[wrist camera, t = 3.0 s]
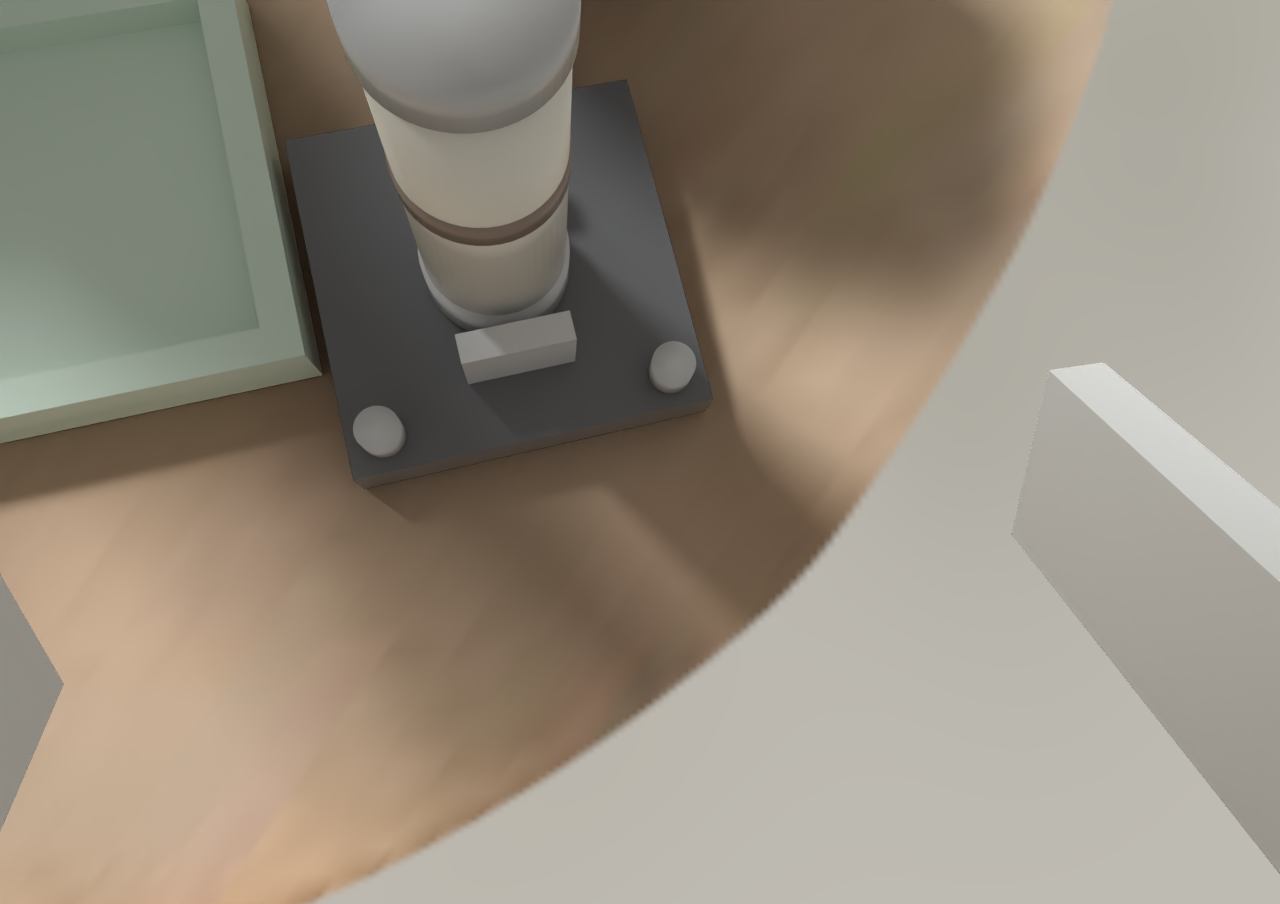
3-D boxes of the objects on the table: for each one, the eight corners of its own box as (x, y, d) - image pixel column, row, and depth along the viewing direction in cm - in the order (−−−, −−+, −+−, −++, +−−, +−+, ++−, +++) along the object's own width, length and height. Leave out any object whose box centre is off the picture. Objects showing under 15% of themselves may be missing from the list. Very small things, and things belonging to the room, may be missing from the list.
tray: (-126, 470, 25) (-183, 456, 23) (-173, 73, 27) (-230, 30, 25) (322, 375, 27) (305, 354, 25) (248, 6, 29) (226, -39, 27)
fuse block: (364, 488, 27) (336, 467, 23) (298, 166, 28) (262, 101, 25) (704, 410, 28) (725, 379, 24) (623, 106, 29) (632, 37, 26)
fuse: (441, 350, 26) (350, 113, 14) (411, 217, 27) (301, -115, 15) (583, 320, 26) (607, 68, 15) (550, 191, 27) (549, -150, 15)
